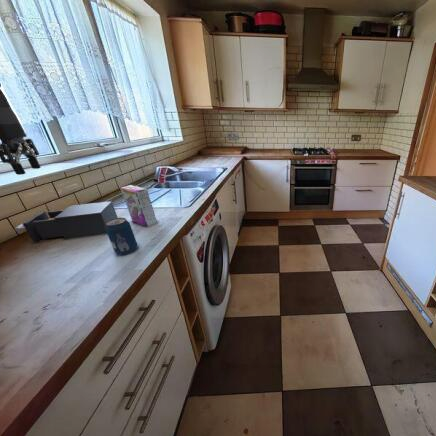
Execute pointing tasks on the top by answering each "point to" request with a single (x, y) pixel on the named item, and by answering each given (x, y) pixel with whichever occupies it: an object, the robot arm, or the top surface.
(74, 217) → the low dark rectangular box
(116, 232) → the soda can
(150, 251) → the top surface
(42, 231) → the dark grey drawer
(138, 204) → the candy bar box
